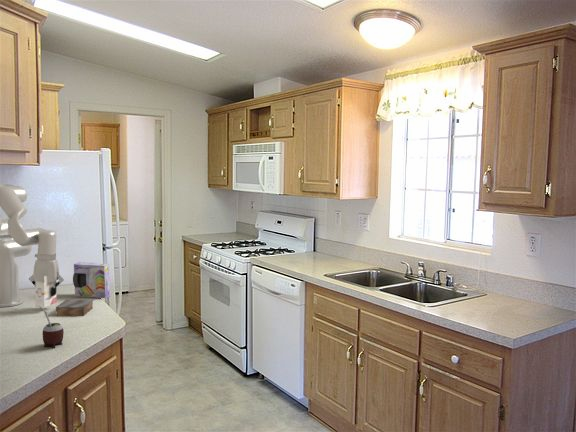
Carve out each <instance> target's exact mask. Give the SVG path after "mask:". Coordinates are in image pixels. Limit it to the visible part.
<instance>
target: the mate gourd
mask: <svg viewBox="0 0 576 432" xmlns="http://www.w3.org/2000/svg"><path fill="white" fill-rule="evenodd" d="M38 308H40V309H41V311H43V313H44V314H45V316H46V320H47V322H48V323H47V324H46V325H45V326H44V327H43V329H42V341H43V344H44V345H43V347H44V348H51V347H52V349H56V346H61V345H63V343H64V342H63V340H64V334H65V332H64V327H63V325H62V324H61V323H59V322H53V323H52V322H51V320H50V318H49V315H48V311H47V310H46V309H45V307H41V306H39V307H38Z"/></svg>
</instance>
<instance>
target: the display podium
mask: <svg viewBox="0 0 576 432" xmlns="http://www.w3.org/2000/svg"><path fill="white" fill-rule="evenodd" d="M93 302H94V299H65V300H63V301H62V302H61V303H59V304H58V305H56V306H55V309H56V310H55V313H56V317H57V316H58V317H59V316H61V317H62V316H63V317H65V316H66V317H69V316H70V317H73V316H74V317H84V316H85V315H87V314H88V313H89V312H90V311H91V310H92V309H93V307H94V306H93V304H94V303H93Z"/></svg>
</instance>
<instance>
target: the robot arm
mask: <svg viewBox="0 0 576 432" xmlns="http://www.w3.org/2000/svg"><path fill="white" fill-rule="evenodd" d="M27 199H28V193H27V191H26V190H25V188H24V187H22V186H20V185H14V184H13V185H12V184H6V183H0V207H1V209H2V211H3V212H4V214H6V216H7V218H3V217H2V216H1V215H0V308H6V307H14V306H18V305H21V304H22V303H23V299H22V298H20V295H19V287H20V286H19V267H18V266H19V265H18V263H17V261H16V260H15V258H18V257H19V258H20V257H23V256H27V255H29V254H30V253H31V252H32V249H33V247H32V246H33V245H34V246H36V245H37V253H36V254H34V258H37V259H36V260H35V262H34V266H33V273H32V274H31V276H30V277H29V278H28V280H29V282H30V283H32V284H33V286H34V287H35V288H36V281H40V282H44V276H47V282H49V283H51V284H52V288H51V296H54V295H55V294H56V289H57V288H58V286H60V284H61V283H62V282H65V279H64V278H63V277H62V276H61V274H60V269H59V263H58V260H57V232H56V231H55V230H47V229H44V228H41V227H38V228H37V227H36V228H28V229H25V228H24V225H23V224H22V223H21V222H20V221H19V220H21V219H22V218H24V216H25V215H27V214H28V213H27V212H28V209H27V208H26V207H27V206H25V204H24V202H26V201H27ZM56 280H57V282H56ZM57 290H58V289H57Z"/></svg>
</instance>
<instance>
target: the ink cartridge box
mask: <svg viewBox="0 0 576 432" xmlns="http://www.w3.org/2000/svg"><path fill="white" fill-rule="evenodd" d="M56 282H58V280H56ZM51 288H52V284H51V283H49V282H47V276H44V282H40V281H36V287H35V307H38V308H40V307H39V306H41V307H42V308H47V307H49V306H51V305H54V304H56V303H57V290H58V289H56V294H55V295H54V296H51Z"/></svg>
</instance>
